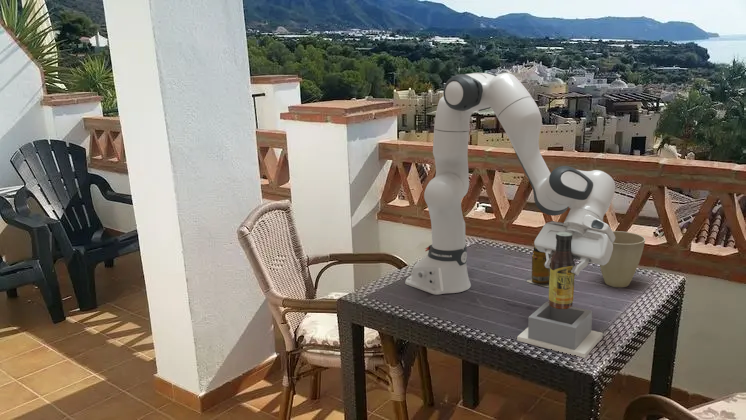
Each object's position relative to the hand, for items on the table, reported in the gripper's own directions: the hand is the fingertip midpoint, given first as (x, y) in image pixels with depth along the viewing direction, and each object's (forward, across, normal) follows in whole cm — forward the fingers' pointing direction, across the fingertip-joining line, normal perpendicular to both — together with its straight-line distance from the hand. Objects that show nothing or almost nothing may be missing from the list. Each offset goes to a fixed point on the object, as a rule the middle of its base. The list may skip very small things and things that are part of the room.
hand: (560, 270), depth 152 cm
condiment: (-10, -26, +38) cm, 47 cm away
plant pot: (-20, -8, +48) cm, 52 cm away
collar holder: (+14, 0, +14) cm, 20 cm away
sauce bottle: (+7, 0, +8) cm, 10 cm away
